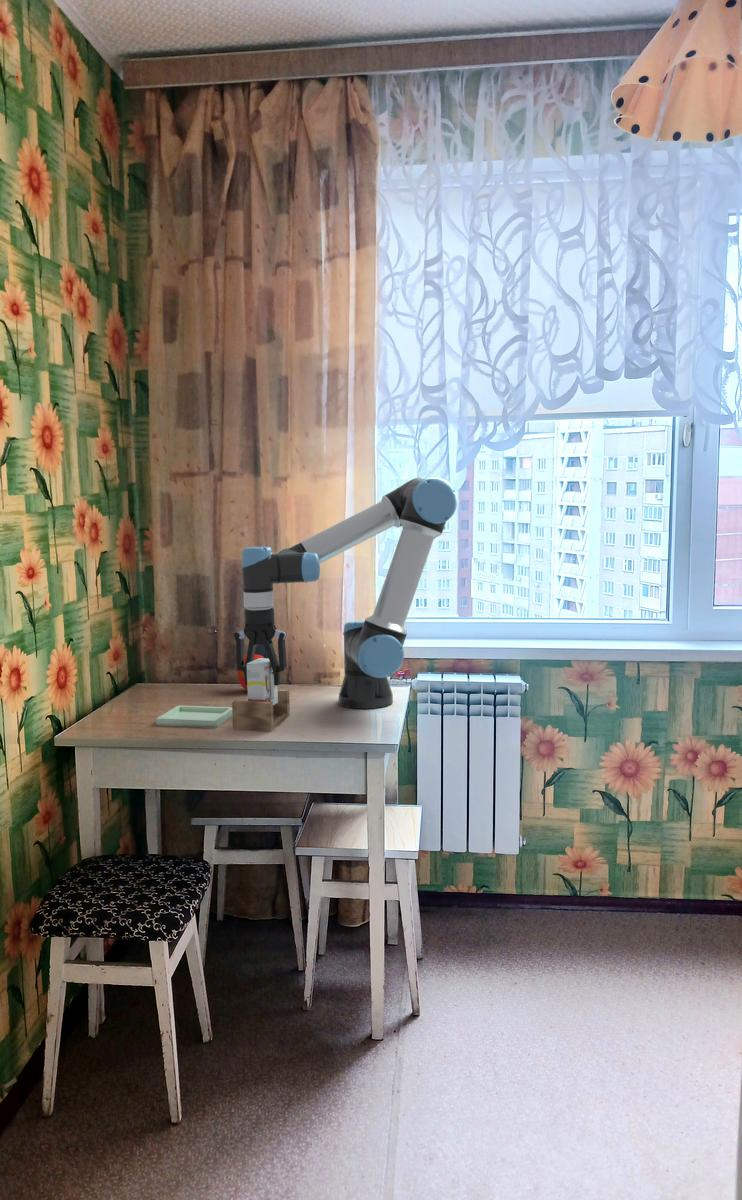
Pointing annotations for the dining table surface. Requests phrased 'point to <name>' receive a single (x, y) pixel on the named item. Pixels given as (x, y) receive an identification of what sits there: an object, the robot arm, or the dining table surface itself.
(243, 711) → the holder
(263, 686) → the ink box
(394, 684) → the dining table surface
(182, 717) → the tray
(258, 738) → the dining table surface
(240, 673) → the apple
